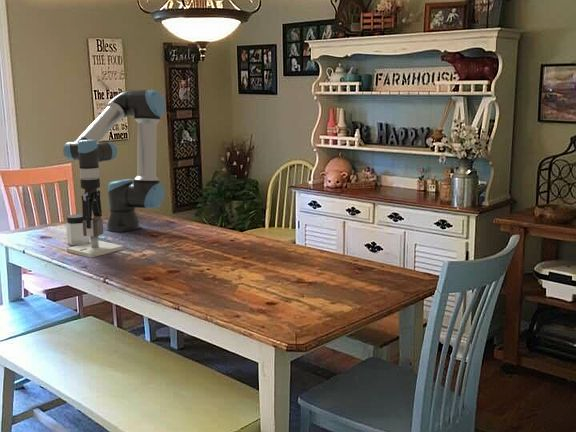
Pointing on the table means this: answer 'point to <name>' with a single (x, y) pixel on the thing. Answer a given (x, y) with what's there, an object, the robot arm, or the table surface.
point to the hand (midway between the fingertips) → (93, 233)
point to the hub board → (94, 248)
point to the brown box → (95, 226)
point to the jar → (76, 230)
